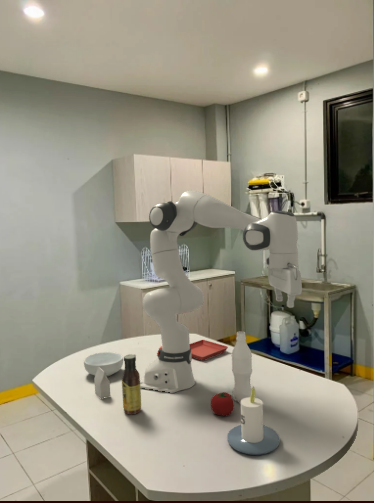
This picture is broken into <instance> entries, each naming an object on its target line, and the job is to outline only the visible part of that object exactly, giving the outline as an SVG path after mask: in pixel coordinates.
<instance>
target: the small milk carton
mask: <svg viewBox="0 0 374 503" xmlns="http://www.w3.org/2000/svg"><path fill="white" fill-rule="evenodd" d="M93 380H94V394H97V395H98V396H99V397H100V398H101V399H100V398H99V397H98V396H97V395H96V396H97V397H98V398H99V399H100V400H103V399H102V398H104V397H108V396H111V384H110V383H111V381H110V379H109V378H108V376H106V374H105V372H104V371H103V370H102V369H101V368H100V367H98V370H97V373H96V375H94V378H93ZM111 397H112V396H111ZM108 398H109V397H108Z"/></svg>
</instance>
